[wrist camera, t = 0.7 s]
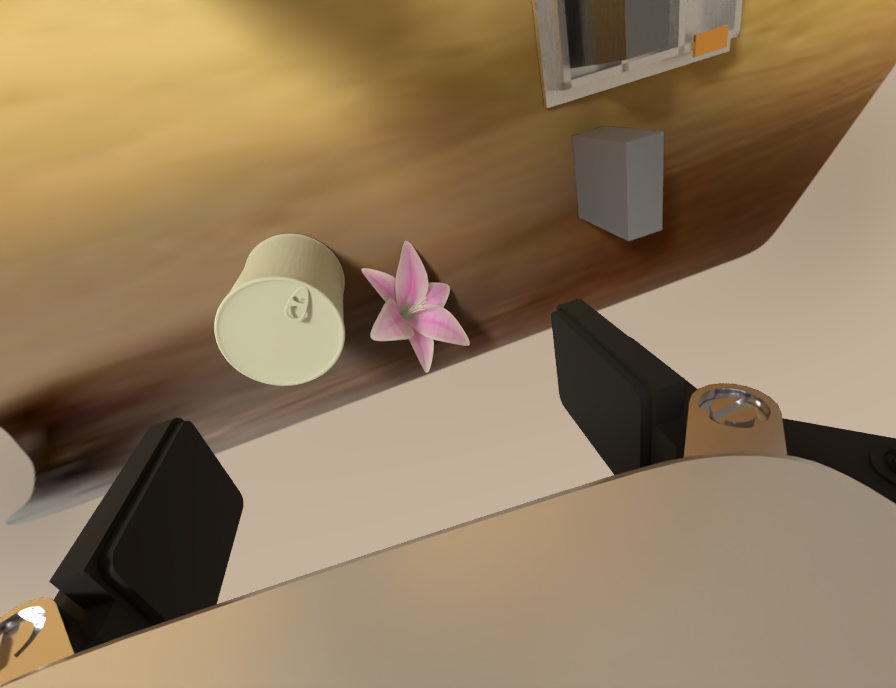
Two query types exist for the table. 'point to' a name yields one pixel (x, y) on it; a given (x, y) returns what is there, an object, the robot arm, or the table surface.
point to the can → (284, 312)
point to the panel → (620, 179)
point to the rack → (625, 40)
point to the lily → (414, 308)
